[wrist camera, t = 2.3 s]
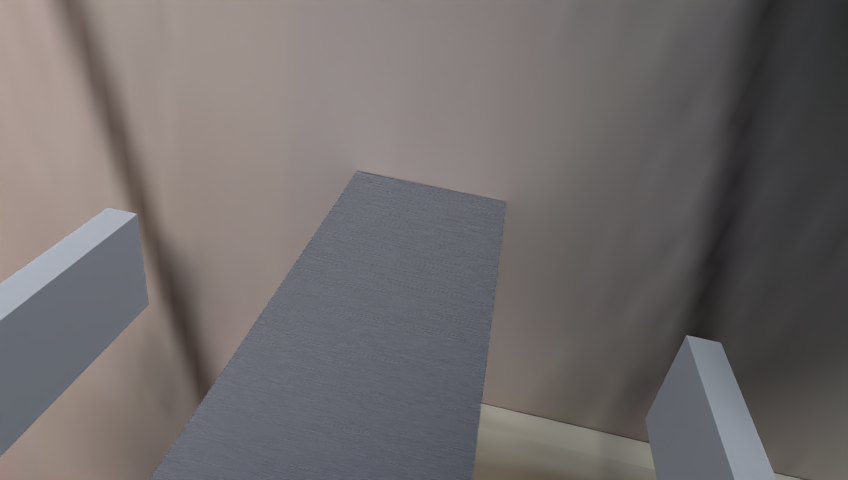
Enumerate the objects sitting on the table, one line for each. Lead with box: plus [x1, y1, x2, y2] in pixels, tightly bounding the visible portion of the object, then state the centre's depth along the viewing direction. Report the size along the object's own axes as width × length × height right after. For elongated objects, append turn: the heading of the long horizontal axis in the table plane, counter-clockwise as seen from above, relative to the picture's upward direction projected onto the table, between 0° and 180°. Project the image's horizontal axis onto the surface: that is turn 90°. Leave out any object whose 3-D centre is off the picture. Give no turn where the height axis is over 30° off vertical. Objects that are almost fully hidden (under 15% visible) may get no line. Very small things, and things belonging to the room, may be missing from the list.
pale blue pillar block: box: [149, 171, 506, 480], centre depth 12 cm, size 6×4×11 cm, turn 172°
